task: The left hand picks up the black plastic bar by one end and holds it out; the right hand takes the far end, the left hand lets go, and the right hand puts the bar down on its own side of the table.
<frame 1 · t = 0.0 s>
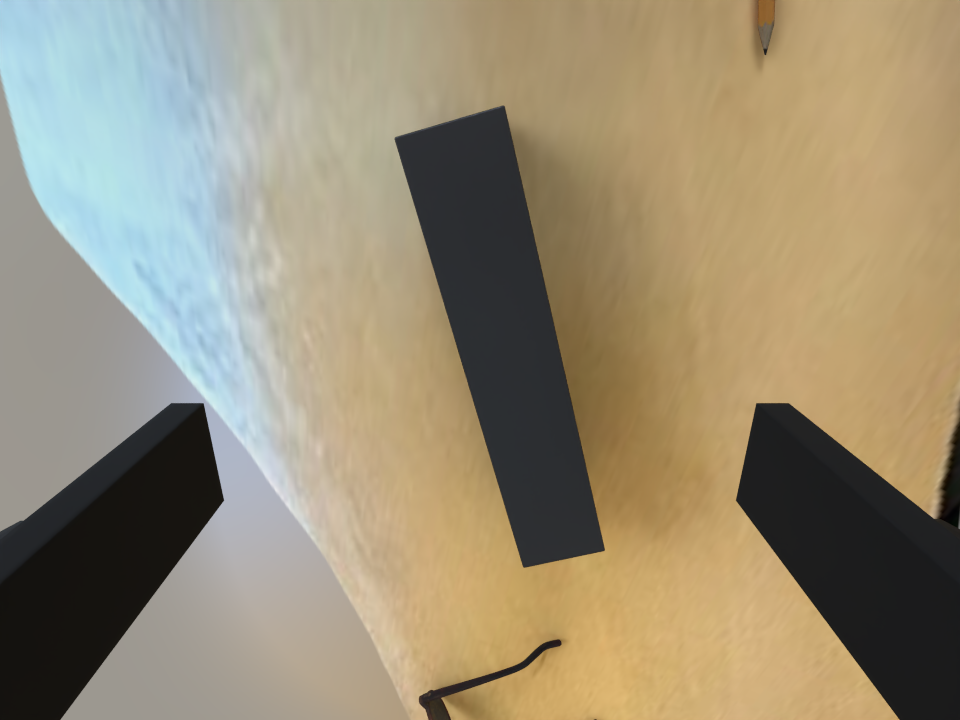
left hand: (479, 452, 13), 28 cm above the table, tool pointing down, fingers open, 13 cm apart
eyeglasses: (514, 697, 56), on the table
bar: (507, 328, 41), on the table
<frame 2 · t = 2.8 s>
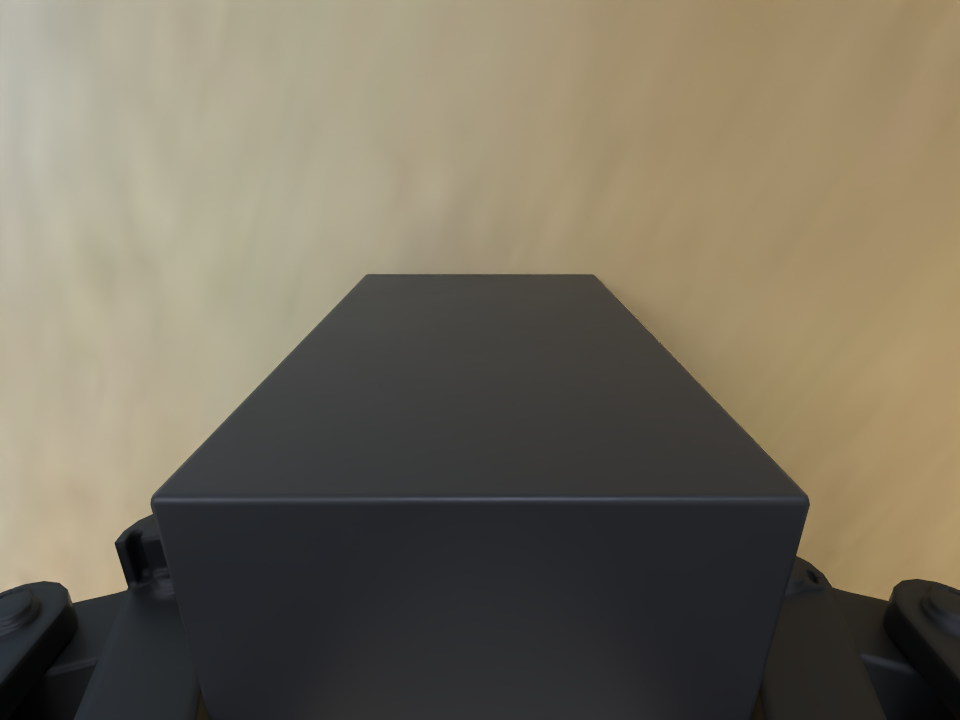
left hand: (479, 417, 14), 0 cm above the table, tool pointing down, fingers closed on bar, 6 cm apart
bar: (480, 679, 19), on the table, touching left hand
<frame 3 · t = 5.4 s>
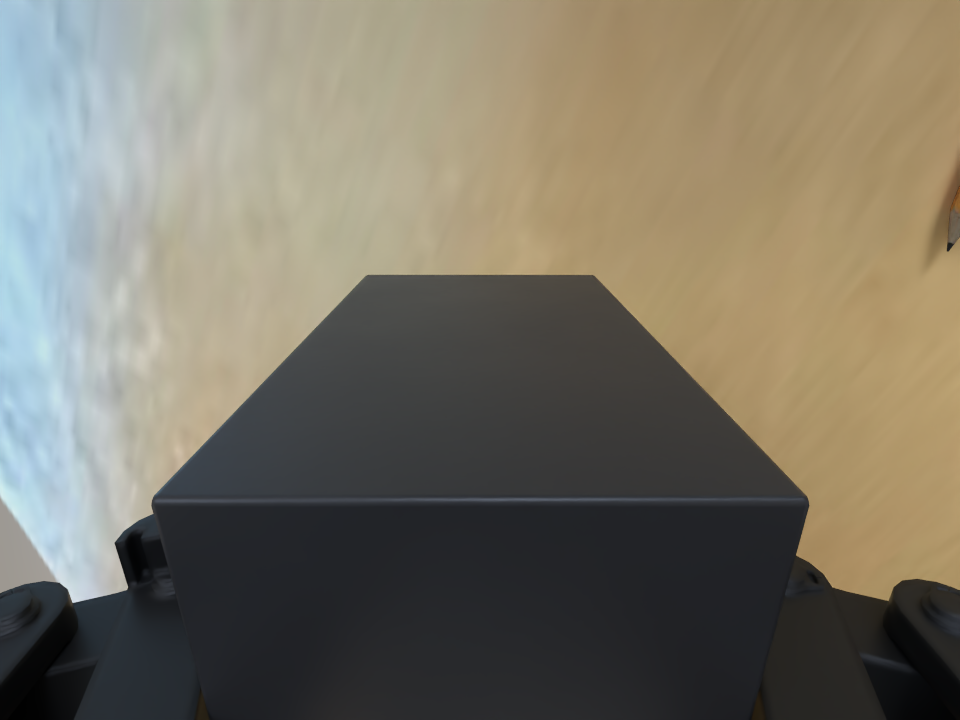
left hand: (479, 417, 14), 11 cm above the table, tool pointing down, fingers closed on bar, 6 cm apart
bar: (480, 679, 19), point 10 cm above the table, touching left hand
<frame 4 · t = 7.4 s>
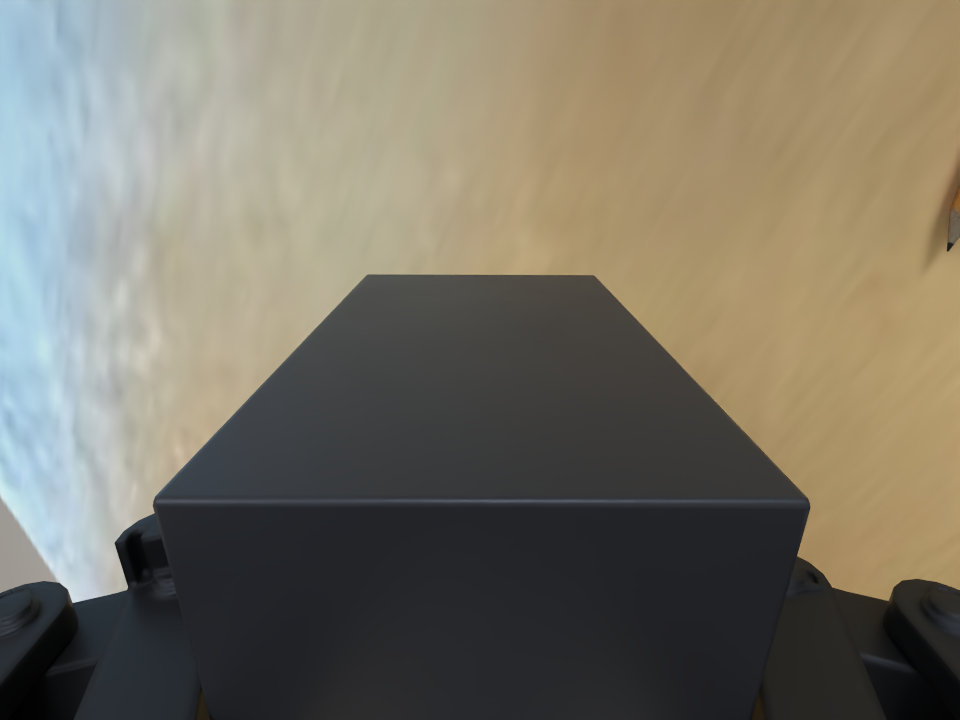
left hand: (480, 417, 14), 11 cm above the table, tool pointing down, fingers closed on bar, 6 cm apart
bar: (479, 679, 19), point 10 cm above the table, touching left hand, right hand
when the left hand's fingers open (11 cm above the table, at t = 8.1 s): bar stays where it is, held by the right hand.
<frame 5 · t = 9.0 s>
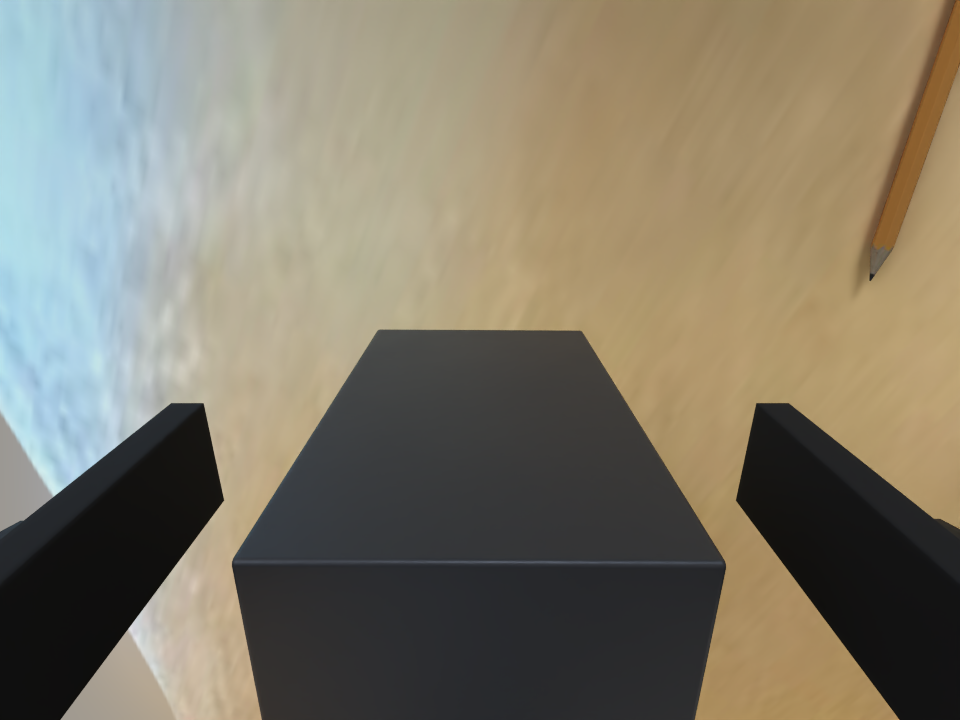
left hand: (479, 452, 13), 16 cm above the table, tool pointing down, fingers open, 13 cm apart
pencil: (931, 75, 24), on the table
bar: (477, 695, 20), point 13 cm above the table, touching right hand
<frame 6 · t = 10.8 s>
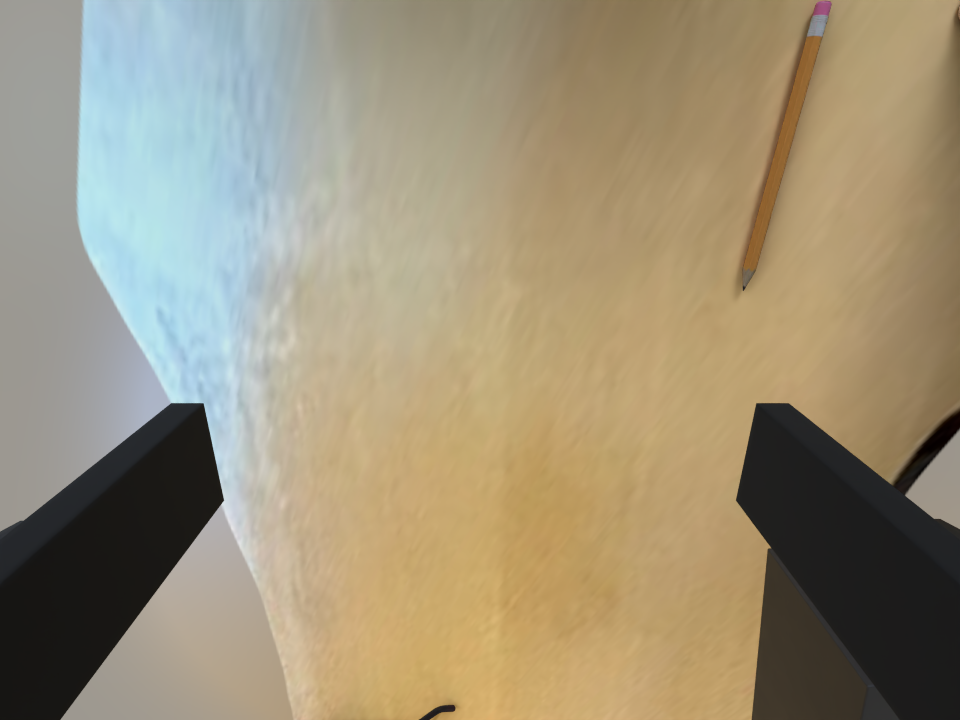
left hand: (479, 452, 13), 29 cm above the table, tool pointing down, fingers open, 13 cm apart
pencil: (774, 159, 38), on the table
bar: (792, 699, 39), point 13 cm above the table, touching right hand
when the right hand's fingers open (2 cm above the table, at t = 12.5 s): bar drops 1 cm, on the table.
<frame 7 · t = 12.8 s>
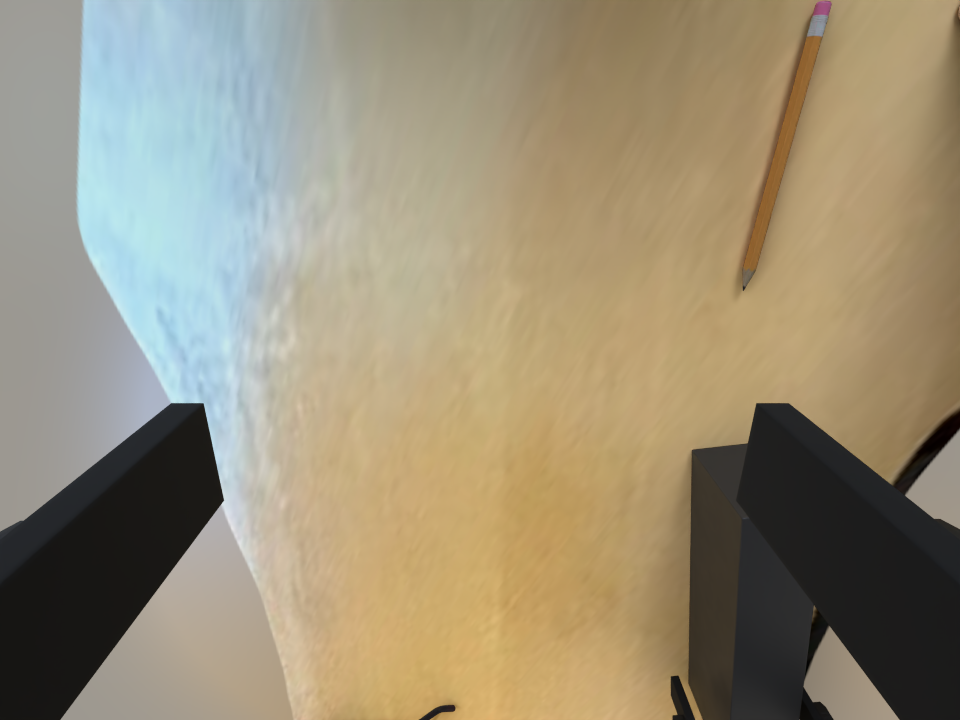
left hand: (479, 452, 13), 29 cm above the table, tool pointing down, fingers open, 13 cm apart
pencil: (774, 159, 38), on the table
bar: (720, 574, 51), on the table
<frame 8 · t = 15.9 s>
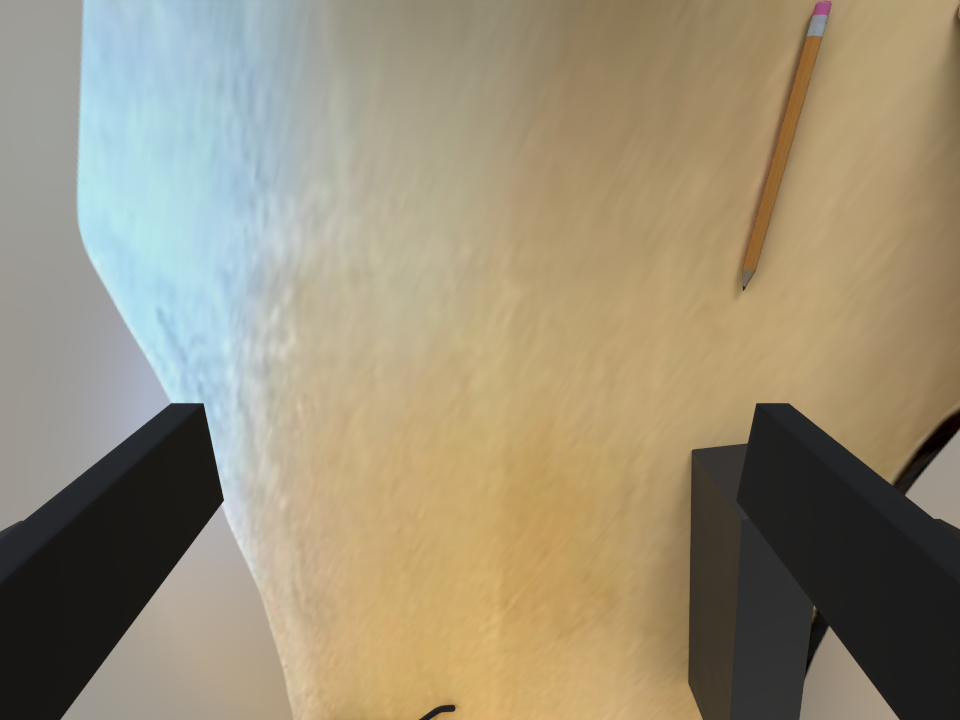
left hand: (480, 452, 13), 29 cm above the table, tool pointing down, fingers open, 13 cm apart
pencil: (774, 159, 38), on the table
bar: (720, 574, 51), on the table
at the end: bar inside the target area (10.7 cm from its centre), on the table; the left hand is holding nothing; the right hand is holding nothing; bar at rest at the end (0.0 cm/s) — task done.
